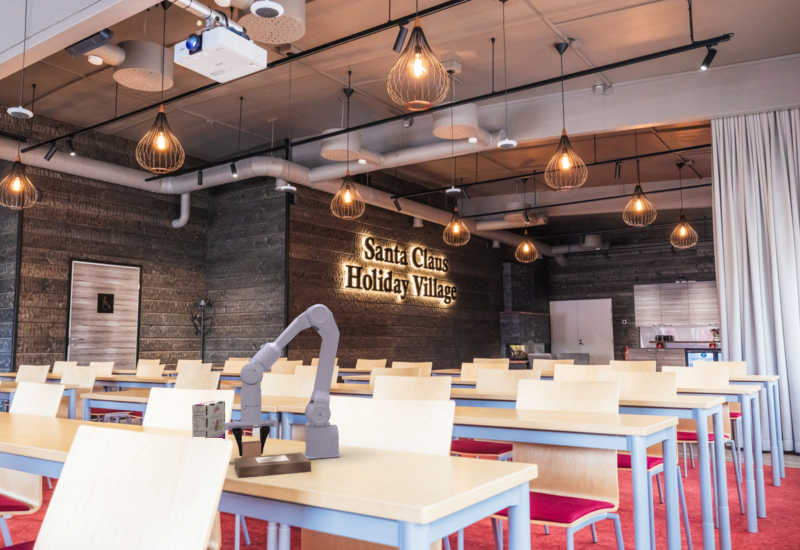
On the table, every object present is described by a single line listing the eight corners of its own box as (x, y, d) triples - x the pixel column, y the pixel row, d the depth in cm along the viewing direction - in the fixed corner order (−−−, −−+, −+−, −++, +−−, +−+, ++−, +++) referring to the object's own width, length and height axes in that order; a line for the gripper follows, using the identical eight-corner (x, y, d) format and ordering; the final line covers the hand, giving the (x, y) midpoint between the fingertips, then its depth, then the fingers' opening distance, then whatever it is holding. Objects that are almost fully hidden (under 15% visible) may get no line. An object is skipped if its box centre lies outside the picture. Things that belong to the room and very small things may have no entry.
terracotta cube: (259, 458, 178) (259, 440, 179) (261, 461, 174) (261, 443, 174) (241, 459, 177) (241, 441, 177) (242, 462, 172) (242, 444, 173)
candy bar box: (210, 456, 186) (211, 400, 188) (225, 456, 185) (226, 400, 187) (190, 463, 175) (191, 404, 177) (207, 463, 174) (207, 404, 176)
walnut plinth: (301, 462, 173) (301, 452, 173) (310, 471, 160) (310, 460, 160) (234, 467, 167) (234, 457, 167) (238, 477, 154) (239, 466, 154)
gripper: (274, 403, 183) (275, 450, 182) (223, 405, 178) (223, 454, 177) (278, 405, 176) (278, 454, 175) (225, 408, 172) (225, 458, 170)
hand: (251, 454), depth 175 cm, fingers closed on terracotta cube, 5 cm apart
